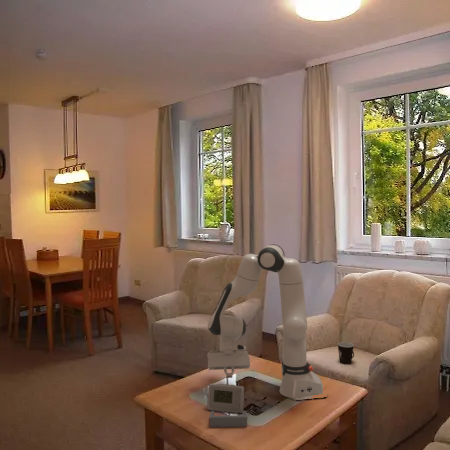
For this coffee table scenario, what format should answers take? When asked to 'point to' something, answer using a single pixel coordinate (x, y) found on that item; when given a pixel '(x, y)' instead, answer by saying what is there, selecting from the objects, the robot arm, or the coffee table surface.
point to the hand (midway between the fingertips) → (229, 377)
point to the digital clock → (225, 398)
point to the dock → (228, 420)
